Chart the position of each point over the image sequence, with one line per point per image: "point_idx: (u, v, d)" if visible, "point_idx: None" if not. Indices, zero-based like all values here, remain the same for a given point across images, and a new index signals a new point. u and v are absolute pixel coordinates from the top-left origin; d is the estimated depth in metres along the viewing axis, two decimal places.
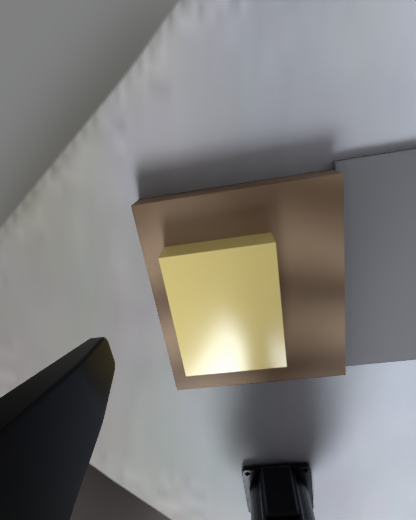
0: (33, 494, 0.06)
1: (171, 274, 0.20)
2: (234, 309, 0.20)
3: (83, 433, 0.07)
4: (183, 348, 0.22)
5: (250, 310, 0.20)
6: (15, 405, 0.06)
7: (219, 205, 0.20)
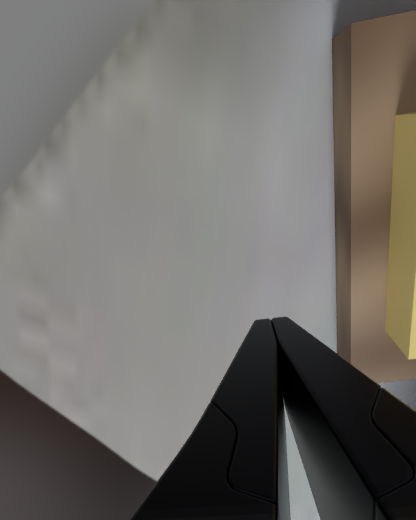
0: (284, 479, 0.05)
1: None
2: None
3: (284, 417, 0.07)
4: None
5: None
6: (255, 383, 0.05)
7: None
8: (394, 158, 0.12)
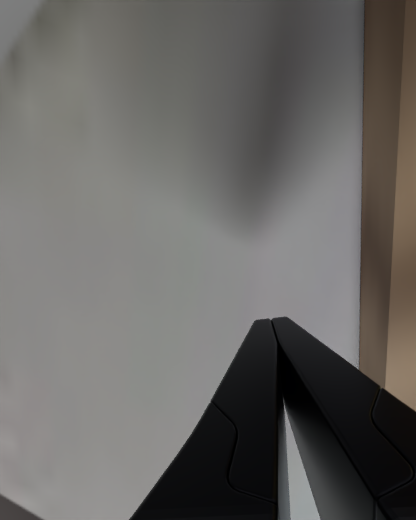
0: (285, 479, 0.05)
1: None
2: None
3: (284, 417, 0.07)
4: None
5: None
6: (255, 383, 0.05)
7: None
8: None
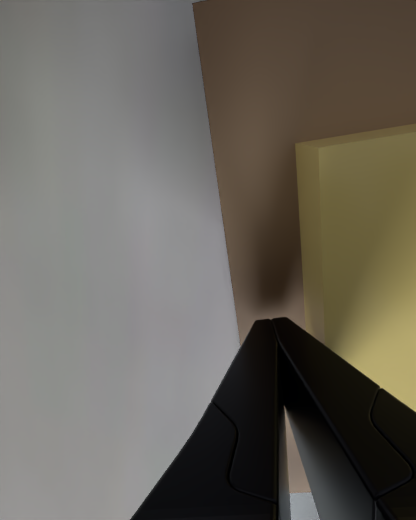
0: (285, 479, 0.05)
1: (353, 209, 0.06)
2: None
3: (284, 417, 0.07)
4: None
5: None
6: (255, 383, 0.05)
7: None
8: (299, 206, 0.08)
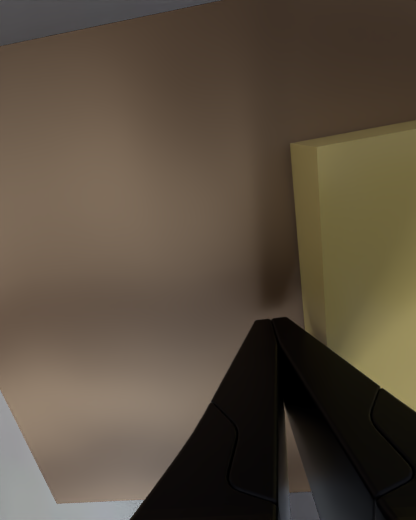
0: (285, 479, 0.05)
1: (353, 208, 0.06)
2: None
3: (284, 417, 0.07)
4: None
5: None
6: (255, 383, 0.05)
7: (84, 74, 0.07)
8: (296, 207, 0.08)
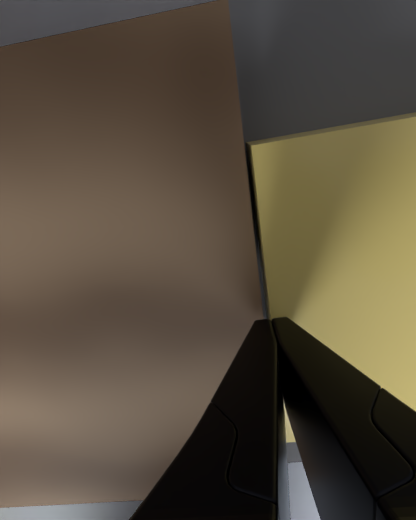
0: (284, 479, 0.05)
1: (283, 194, 0.07)
2: None
3: (284, 417, 0.07)
4: None
5: None
6: (255, 383, 0.05)
7: None
8: (252, 195, 0.09)
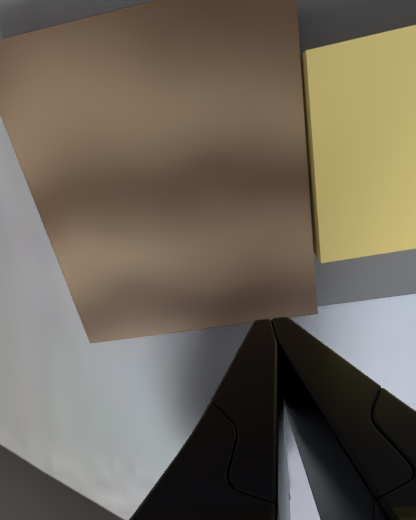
0: (285, 479, 0.05)
1: (323, 80, 0.13)
2: (414, 140, 0.13)
3: (284, 417, 0.07)
4: (323, 215, 0.15)
5: None
6: (255, 383, 0.05)
7: (106, 38, 0.13)
8: None
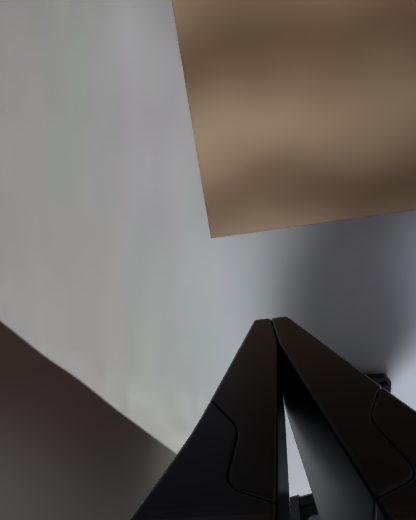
0: (284, 479, 0.05)
1: None
2: None
3: (284, 417, 0.07)
4: None
5: None
6: (255, 383, 0.05)
7: None
8: None
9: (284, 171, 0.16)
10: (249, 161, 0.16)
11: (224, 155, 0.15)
